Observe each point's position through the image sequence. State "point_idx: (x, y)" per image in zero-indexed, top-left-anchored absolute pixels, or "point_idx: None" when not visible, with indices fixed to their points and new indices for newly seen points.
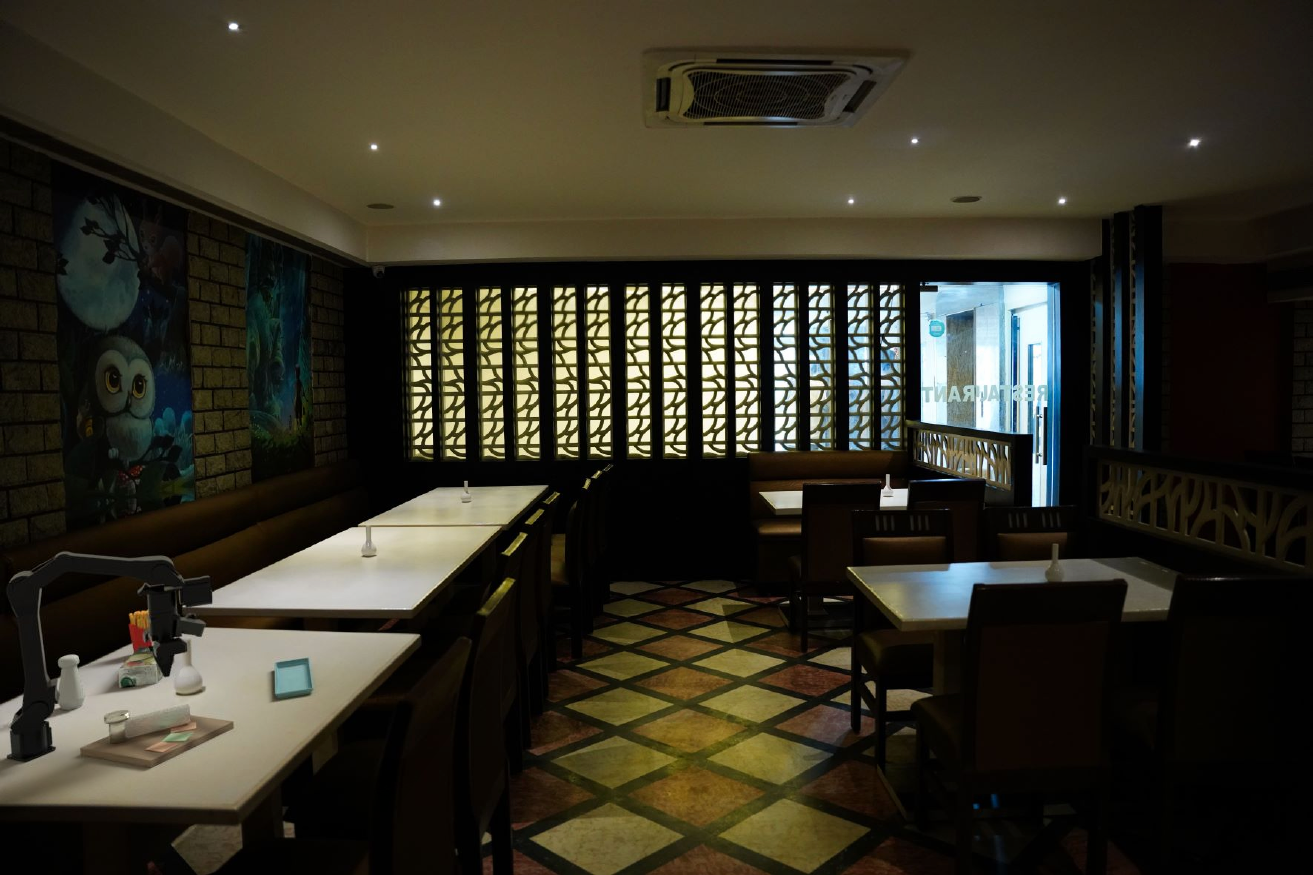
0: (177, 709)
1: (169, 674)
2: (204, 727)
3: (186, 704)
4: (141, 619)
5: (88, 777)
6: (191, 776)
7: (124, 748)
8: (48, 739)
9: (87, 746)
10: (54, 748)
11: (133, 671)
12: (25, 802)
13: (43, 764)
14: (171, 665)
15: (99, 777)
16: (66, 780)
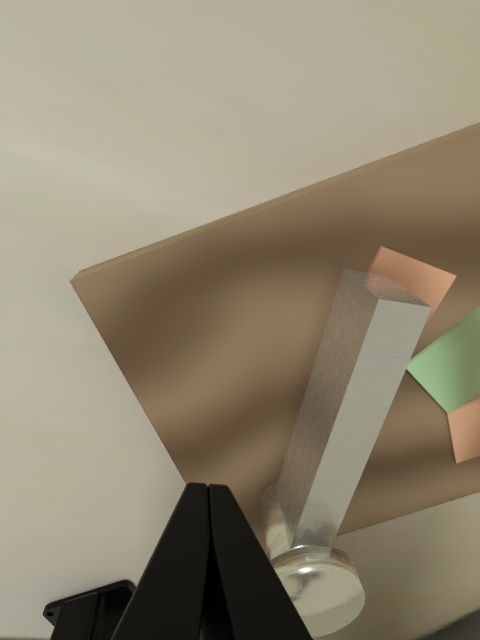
0: (405, 367)
1: (234, 501)
2: (475, 242)
3: (376, 306)
4: None
5: (420, 554)
6: None
7: (372, 494)
8: (102, 625)
9: None
10: (129, 587)
11: None
12: (418, 635)
13: None
14: (301, 619)
15: (448, 539)
16: (385, 583)
